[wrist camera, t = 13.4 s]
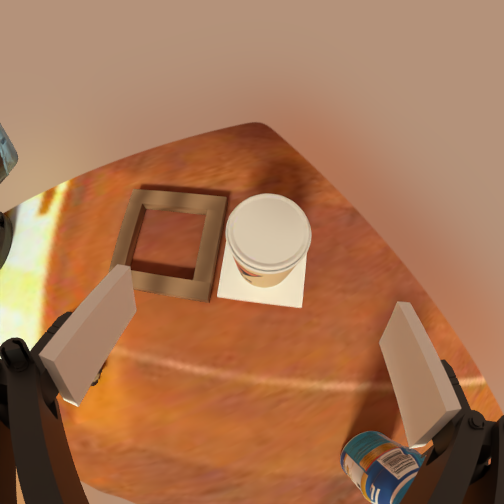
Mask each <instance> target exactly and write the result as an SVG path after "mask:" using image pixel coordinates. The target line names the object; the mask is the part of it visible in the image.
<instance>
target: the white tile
mask: <svg viewBox="0 0 504 504" xmlns="http://www.w3.org/2000/svg"><path fill="white" fill-rule="evenodd" d="M306 256H307V253H306V255H305V256H304V258H303V259H302V260H301V261H300V262H299V263H298V264H297V265H296V266H295V268H294V269H293V270H292V271H291V272H290V274H289V275H288V276H287V277H286V278H285V279H284V280H283V281H282V282H281V283H279V284H278V285H275V286H273V287H268V288H261V287H256V286H253V285H251V284H250V283H248V282H247V281H246V280H245V279H244V278H243V277H242V275H241V274H240V272H239V270H238V267H237V265H236V262H235V260H234V258H233V255H232V253H231V252H230V250H229V247H228V245H227V241H226V247H225V252H224V258H223V264H222V270H221V275H220V281H219V287H218V293H217V297H220V298H227V299H234V300H241V301H248V302H256V303H263V304H271V305H279V306H288V307H296V308H302V300H303V290H304V279H305V268H306Z"/></svg>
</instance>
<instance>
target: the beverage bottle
mask: <svg viewBox="0 0 504 504" xmlns="http://www.w3.org/2000/svg"><path fill="white" fill-rule="evenodd" d="M421 456H422V455H421V454H419V453H418V452H417V451H416V450H414V449H412V448H411V449H409V447H405V446H402V445H400V444H399V443H397V442H395V441H393V440H391V439H389V438H388V437H387V436H386V435H384V434H382V433H380V432H377V431H366V432H363V433H360V434H358V435H356V436H355V437H353V438H352V439H351V440H350V441H349V442H348V443H347V444H346V445H345V447H344V448H343V450H342V453H341V457H340V464H341V467H342V469H343V470H344V472H345V473H346V474H347V475H348V476H349V477H350V478H351V480H352V481H353V482H354V483H355V484H356V486H357V487H358V488H359V489H360V490H361V492H362V494H363V496H364V497H365V498H366V499H367V500H368V501H369V502H371V503H372V504H399V503H400V502H401V500H402V498H403V497H404V495H405V494H406V492H407V490H408V489H409V487H410V485H411V484H412V482H413V480H414V478H415V476H416V475H417V473H418V471H419V469H420V467H421V465H422V463H423V461H424V459H425V457H426V456H424V457H423V458H420V457H421Z"/></svg>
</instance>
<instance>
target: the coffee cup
mask: <svg viewBox="0 0 504 504" xmlns="http://www.w3.org/2000/svg"><path fill="white" fill-rule="evenodd" d="M226 241H227V245H228V247H229V250H230V252H231V253H232V255H233V258H234V260H235V262H236V265H237V267H238V270H239V272H240V274H241V275H242V277H243V278H244V279H245V280H246V281H247V282H248V283H250V284H251V285H253V286H256V287H261V288H268V287H273V286H275V285H278V284H279V283H281V282H282V281H283V280H284V279H285V278H286V277H287V276H288V275H289V274H290V272H291V271H292V270H293V269H294V268H295V266H296V265H297V264H298V263H299V262H300V261H301V260H302V259H303V258H304V256H305V255H306V253H307V251H308V249H309V246H310V242H311V227H310V223H309V221H308V218H307V217H306V215H305V213H304V212H303V210H302V209H301V208H300V207H299V206H298V205H297V204H296V203H295V202H293V201H292V200H290V199H288V198H286V197H284V196H281V195H277V194H270V193H266V194H259V195H255V196H252V197H250V198H248V199H246V200H244V201H243V202H241V203H240V204H239V205H238V206H237V207H236V208H235V209H234V210H233V211H232V213H231V215H230V216H229V219H228V221H227V225H226Z"/></svg>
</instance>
